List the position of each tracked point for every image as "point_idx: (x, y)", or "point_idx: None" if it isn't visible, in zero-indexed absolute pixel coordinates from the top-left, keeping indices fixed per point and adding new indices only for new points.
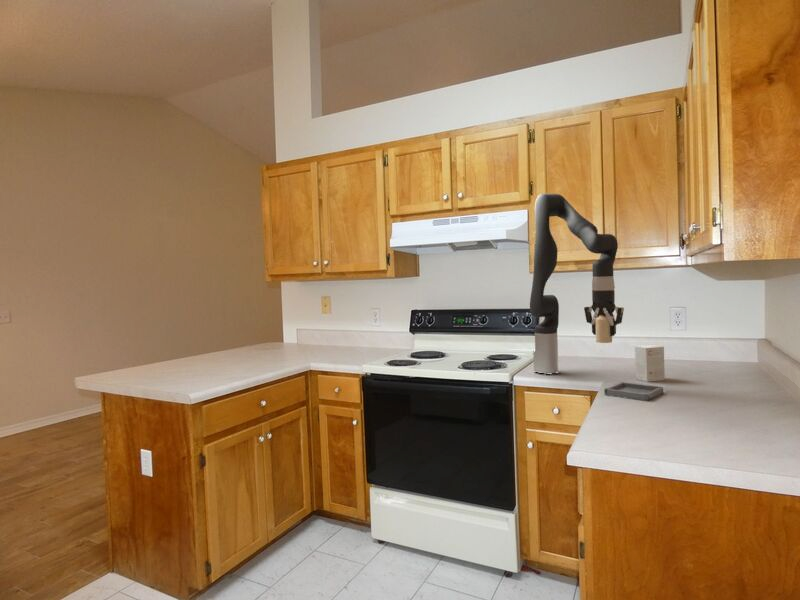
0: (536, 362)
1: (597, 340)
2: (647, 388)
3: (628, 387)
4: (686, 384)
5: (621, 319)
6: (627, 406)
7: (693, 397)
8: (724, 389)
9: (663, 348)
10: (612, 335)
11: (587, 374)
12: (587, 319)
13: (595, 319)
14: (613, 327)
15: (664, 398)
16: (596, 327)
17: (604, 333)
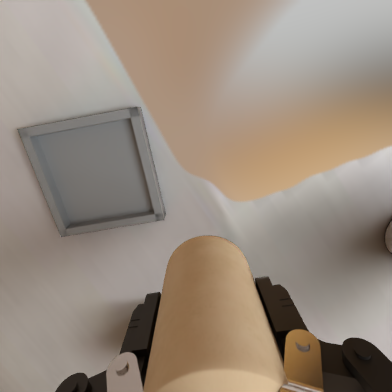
0: None
1: (222, 242)
2: (96, 221)
3: (142, 211)
4: (95, 327)
5: None
6: (13, 30)
7: (3, 236)
8: (23, 332)
9: None
10: (148, 297)
11: (313, 281)
12: (381, 369)
13: (287, 384)
14: (127, 346)
15: (29, 183)
16: (244, 300)
17: (177, 276)
